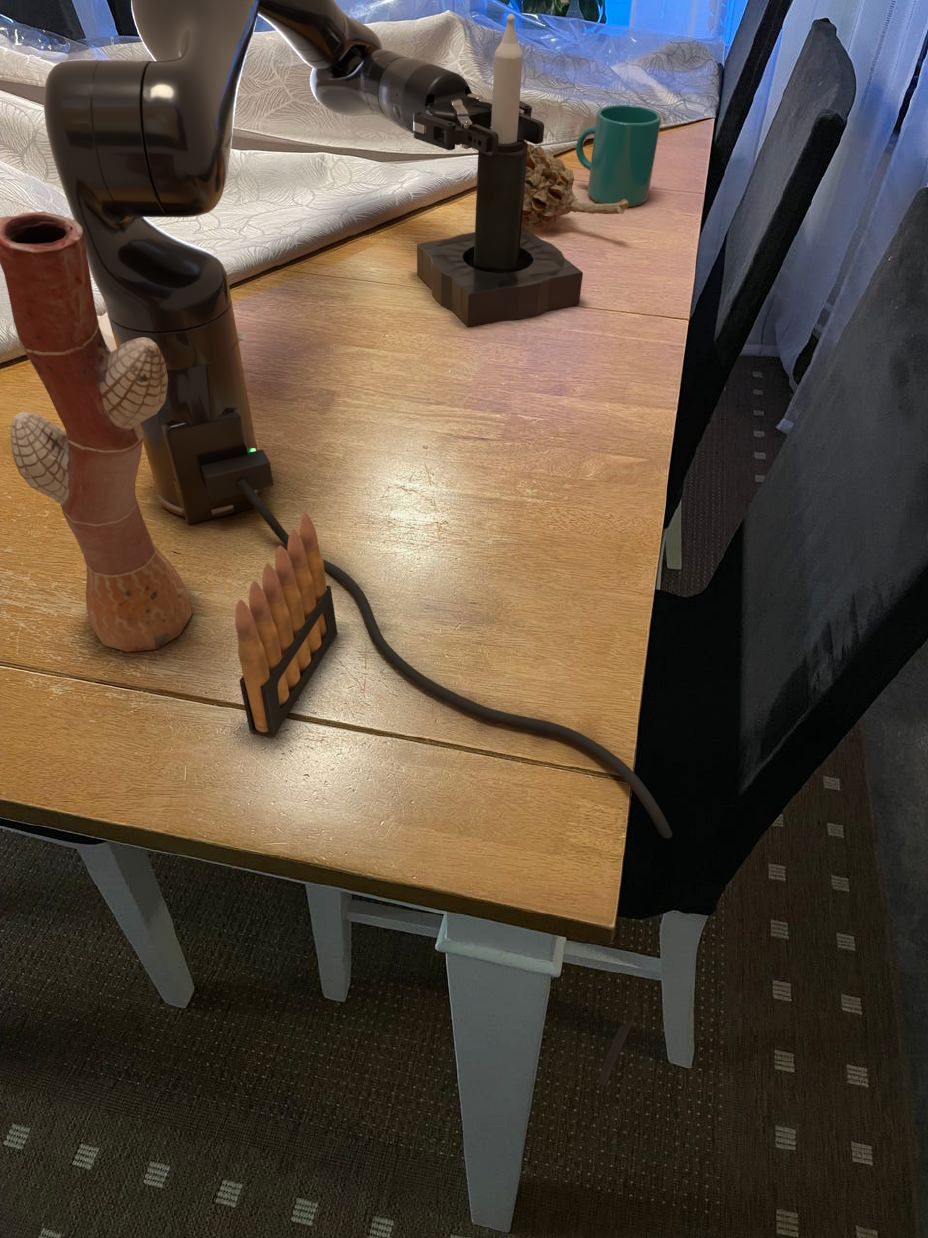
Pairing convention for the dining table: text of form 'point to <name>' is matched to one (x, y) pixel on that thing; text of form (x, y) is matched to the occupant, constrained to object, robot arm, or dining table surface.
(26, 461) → the vase
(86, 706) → the dining table surface
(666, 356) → the dining table surface
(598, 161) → the cup
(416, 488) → the dining table surface
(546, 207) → the pine cone
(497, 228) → the candle
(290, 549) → the ammunition clip
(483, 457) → the dining table surface
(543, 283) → the candle base
